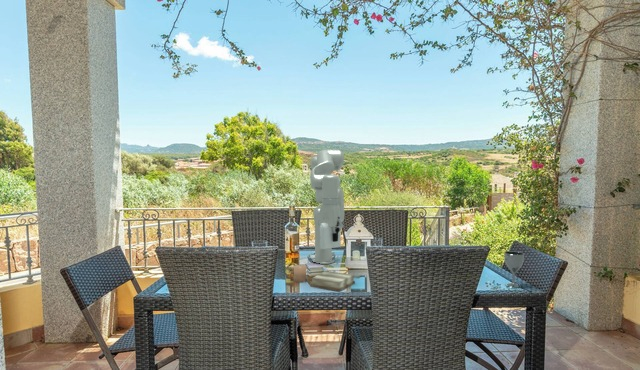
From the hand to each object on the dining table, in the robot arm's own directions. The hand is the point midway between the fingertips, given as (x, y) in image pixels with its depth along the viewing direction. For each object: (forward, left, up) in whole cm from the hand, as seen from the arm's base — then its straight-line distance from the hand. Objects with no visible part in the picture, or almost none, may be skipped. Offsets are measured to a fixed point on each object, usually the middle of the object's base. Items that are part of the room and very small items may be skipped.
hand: (330, 240), depth 197 cm
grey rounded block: (0, 0, -4) cm, 4 cm away
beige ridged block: (+3, +3, -20) cm, 20 cm away
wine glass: (-38, +74, -20) cm, 86 cm away
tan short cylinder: (+5, -14, -20) cm, 25 cm away
